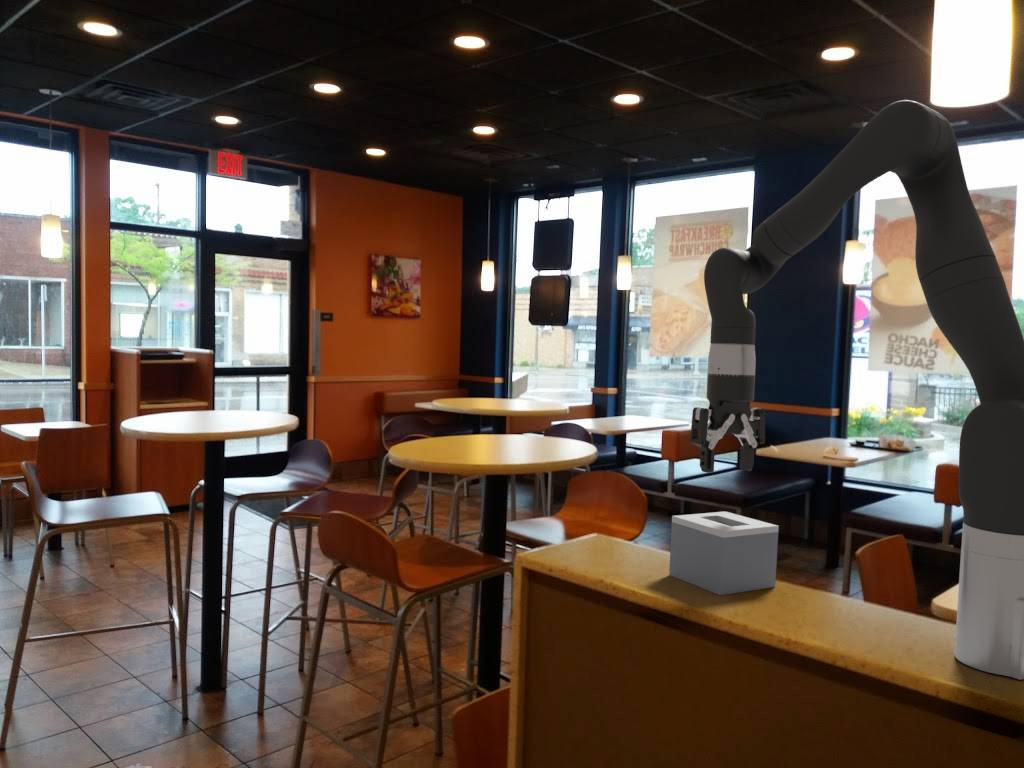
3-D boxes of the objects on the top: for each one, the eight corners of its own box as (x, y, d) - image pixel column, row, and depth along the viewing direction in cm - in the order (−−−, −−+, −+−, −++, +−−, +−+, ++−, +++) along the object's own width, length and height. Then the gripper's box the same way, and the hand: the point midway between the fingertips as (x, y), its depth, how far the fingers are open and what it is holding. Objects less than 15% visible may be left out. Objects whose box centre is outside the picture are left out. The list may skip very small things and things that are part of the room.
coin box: (775, 586, 132) (778, 525, 132) (720, 595, 127) (723, 531, 126) (722, 568, 143) (725, 511, 142) (669, 575, 137) (672, 515, 137)
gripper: (714, 372, 127) (710, 476, 127) (779, 374, 134) (775, 472, 134) (682, 370, 133) (678, 469, 134) (745, 372, 140) (741, 466, 141)
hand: (727, 471), depth 134 cm, fingers open, 8 cm apart
